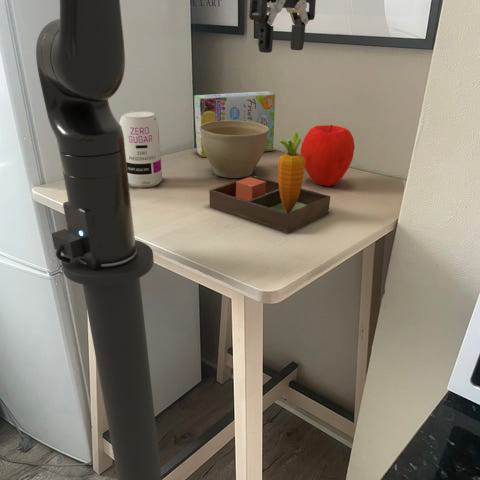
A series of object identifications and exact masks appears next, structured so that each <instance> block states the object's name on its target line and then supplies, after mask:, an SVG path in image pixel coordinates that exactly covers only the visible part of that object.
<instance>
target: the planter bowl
mask: <svg viewBox="0 0 480 480" xmlns="http://www.w3.org/2000/svg"><path fill="white" fill-rule="evenodd" d="M268 130H269V129H268V127H266V126H265V125H262V124H259V123H254V122H247V121H236V120H225V121H213V122H208V123H204V124H202V125H201V126H200V132H201V140H202V146H203V149H204V152H205V155H206V157H205V158H206V159H207V161H208V162H209V164H210V165H211V167H212V169H213V173H214V174H215V175H216V176H219V177H222V178H227V179H243V178H247V177H250V176H252V175H253V172H254V168H255V167H256V166H258V164H259V162H260V160H261V159H262V157H263V155H264V152H265V151H264V150H265V146H266V141H267V135H268Z"/></svg>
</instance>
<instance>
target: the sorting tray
mask: <svg viewBox="0 0 480 480" xmlns="http://www.w3.org/2000/svg"><path fill="white" fill-rule="evenodd" d="M249 177H251V178H255V179H259V180H262V181H266V194H264V195H262V196H259V197H256V198H254V199H251V200H249V201H246V200H243V199H240V198H237V197H236V182H237V181H240V180H243V179H246V178H249ZM208 193H209V208H211V209H214V210H217V211H220V212H223V213H225V214H229V215H232V216H235V217H238V218H240V219H243V220H247V221H250V222H252V223H256V224H259V225H261V226H263V227H267V228H269V229H273V230H276V231H279V232H282V233H284V234H290V233H291V232H293V231H295V230H298V229H300V228H302V227H304V226H306V225H307V224H309V223H312V222H314V221H316V220H318V219H320V218H322V217H324V216H326V215H328V214H329V213H330V205H331V204H330V203H331V195H328V194H324V193H320V192H317V191H313V190H309V189H307V188H302V187H301V191H300V194H299V197H298V200H297V202H296V204H295V206H294V207H293V209H292V211H290V212H289V213H287V212H286V211H285V209H284V206H283V204H282V201H281V198H280V192H279V185H278V181H276V180H272V179H269V178H264V177H261V176H258V175H255V174H252V175H250V176H247V177H243V178H240V179H239V180H238V179H237V180H235V181H232V182H229V183H226V184H223V185H220V186H218V187H214V188H212V189H209V192H208Z"/></svg>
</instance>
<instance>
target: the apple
mask: <svg viewBox="0 0 480 480" xmlns="http://www.w3.org/2000/svg"><path fill="white" fill-rule="evenodd" d="M299 152H300V153H299V154H300V155H301V156H303V157H304V158H305V168H304V170H305V171H306V173H307V175H308V176H309V179H310V180H311V181H312V182H313V183H314V184H317V185H320V186H322V187H323V186H324V187H329V186H335V185H337V184H338V183H339V182H340V180H342V179H343V177H344V176H345V175H346V173H347V171H348V170H349V168H350V165H351V164H352V161H353V159H354V152H355V140H354V136H353V135H352V132H351V131H350V130H349V129H348V128H346V127H343V126H339V125H333V124H321V125H315V126H313V127H311V128H310V129H308V131H307V132H306V134H305V136H304V138H303V140H302V141H301V146H300V151H299Z"/></svg>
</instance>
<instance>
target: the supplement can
mask: <svg viewBox="0 0 480 480" xmlns="http://www.w3.org/2000/svg"><path fill="white" fill-rule="evenodd" d="M118 123H119V125H120V126H121V128H122V131H123V136H124V144H125V154H126V164H127V173H128V182H129V186H131V187H134V188H140V189H141V188H152V187H156V186H159V184H160V183H161V182H162V181H163V172H162V158H161V143H160V130H159V129H160V128H159V120H158V119H157V117H156V114H155V113H154V112H153V111H147V110H133V111H126V112H123V113H121V117H120V119H119V121H118Z"/></svg>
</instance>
